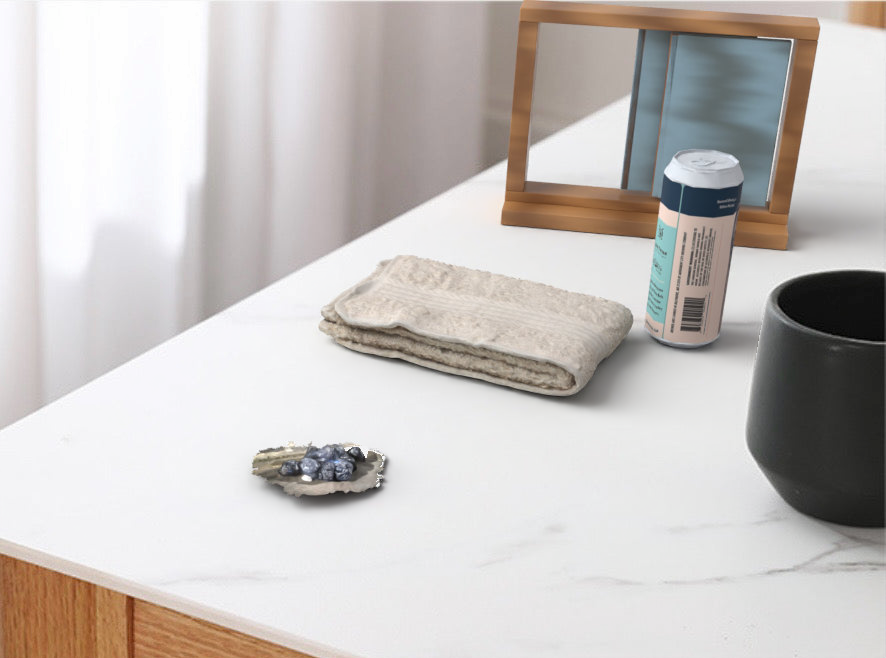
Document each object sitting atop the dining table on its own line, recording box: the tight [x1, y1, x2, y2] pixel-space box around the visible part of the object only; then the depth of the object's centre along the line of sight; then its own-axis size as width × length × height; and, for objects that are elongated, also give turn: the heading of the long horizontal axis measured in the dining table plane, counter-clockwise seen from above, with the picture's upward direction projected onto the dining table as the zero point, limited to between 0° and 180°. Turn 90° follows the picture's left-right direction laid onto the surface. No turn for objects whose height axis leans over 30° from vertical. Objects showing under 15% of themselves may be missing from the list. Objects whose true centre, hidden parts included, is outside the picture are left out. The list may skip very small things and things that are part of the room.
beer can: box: [643, 149, 744, 349], centre depth 99 cm, size 5×5×12 cm
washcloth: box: [318, 254, 634, 397], centre depth 100 cm, size 12×18×3 cm, turn 62°
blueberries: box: [251, 440, 385, 498], centre depth 85 cm, size 7×8×2 cm
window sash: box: [619, 29, 759, 192], centre depth 119 cm, size 8×5×12 cm, turn 77°
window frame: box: [500, 0, 821, 251], centre depth 117 cm, size 21×7×16 cm, turn 77°
